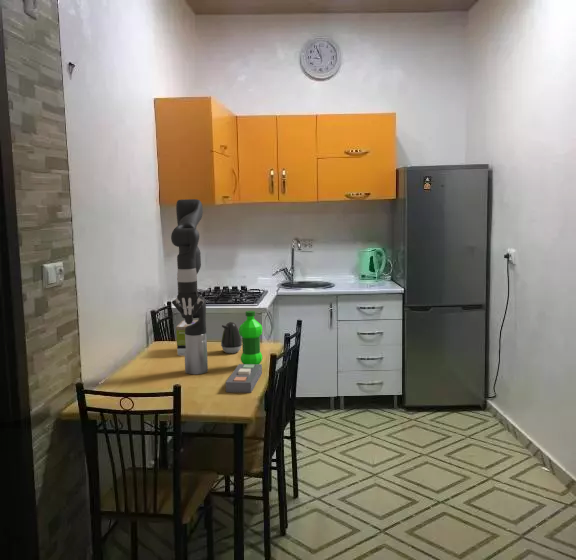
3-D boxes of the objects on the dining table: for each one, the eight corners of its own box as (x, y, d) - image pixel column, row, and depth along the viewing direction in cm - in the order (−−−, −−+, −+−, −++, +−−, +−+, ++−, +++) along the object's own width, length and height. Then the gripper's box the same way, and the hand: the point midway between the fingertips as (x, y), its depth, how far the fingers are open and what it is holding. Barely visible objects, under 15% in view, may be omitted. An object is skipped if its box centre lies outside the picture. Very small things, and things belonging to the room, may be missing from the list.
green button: (242, 374, 256) (242, 367, 255) (244, 371, 260) (244, 364, 259) (253, 374, 255) (252, 367, 255) (254, 371, 259) (254, 364, 259)
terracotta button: (233, 387, 238) (233, 380, 237) (236, 384, 242) (235, 376, 242) (244, 388, 237) (244, 380, 237) (246, 384, 242) (246, 377, 241)
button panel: (226, 392, 237) (225, 382, 236) (239, 373, 262) (239, 364, 262) (251, 392, 235) (250, 382, 235) (262, 373, 261) (261, 364, 260)
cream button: (238, 379, 247) (238, 371, 246) (240, 375, 251) (240, 368, 251) (249, 379, 246) (248, 371, 246) (250, 376, 250) (250, 368, 250)
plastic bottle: (238, 369, 268) (236, 313, 265) (243, 362, 278) (241, 309, 275) (260, 369, 267) (259, 313, 264) (264, 363, 277) (263, 309, 274)
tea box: (183, 348, 308) (182, 319, 306) (203, 348, 308) (201, 319, 306) (176, 355, 293) (175, 326, 291) (197, 355, 293) (196, 325, 291)
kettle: (216, 352, 298) (215, 322, 296) (233, 348, 305) (232, 319, 303) (229, 356, 291) (228, 325, 289) (246, 352, 298) (245, 321, 296)
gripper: (206, 278, 236) (208, 322, 239) (173, 278, 238) (175, 321, 240) (201, 281, 229) (203, 326, 231) (167, 281, 230) (169, 325, 233)
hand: (189, 323), depth 236 cm, fingers closed
